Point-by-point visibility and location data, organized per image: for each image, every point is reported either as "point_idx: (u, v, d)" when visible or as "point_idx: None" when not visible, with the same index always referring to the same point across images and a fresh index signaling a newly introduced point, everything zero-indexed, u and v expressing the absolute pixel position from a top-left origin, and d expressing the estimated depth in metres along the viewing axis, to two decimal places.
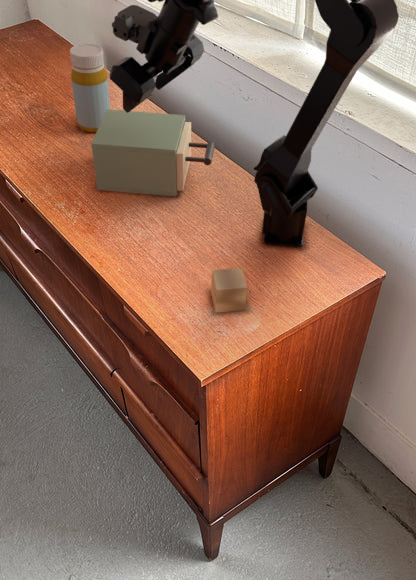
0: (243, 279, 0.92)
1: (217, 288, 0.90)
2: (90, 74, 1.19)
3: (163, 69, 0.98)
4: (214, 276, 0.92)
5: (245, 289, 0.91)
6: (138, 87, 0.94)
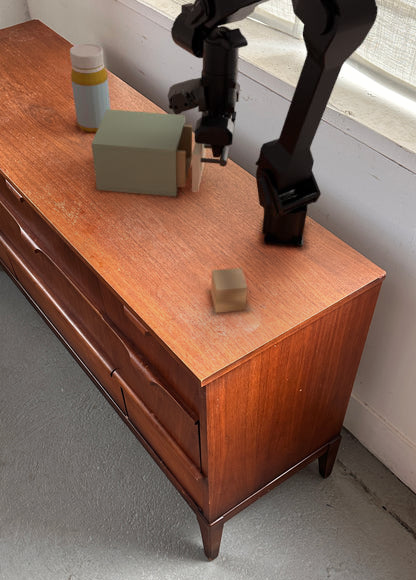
0: (243, 279, 0.92)
1: (217, 288, 0.90)
2: (90, 74, 1.19)
3: (229, 110, 1.04)
4: (214, 276, 0.92)
5: (245, 289, 0.91)
6: (226, 130, 1.00)
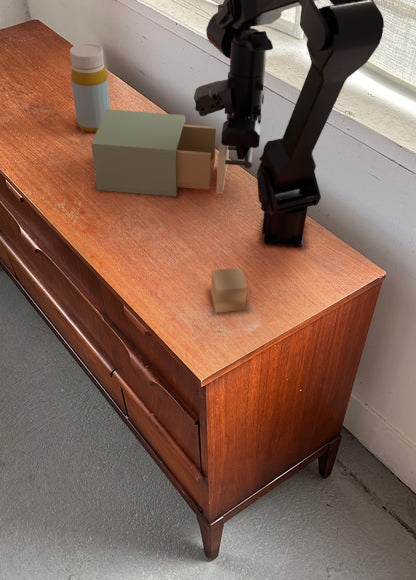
0: (243, 279, 0.92)
1: (217, 288, 0.90)
2: (90, 74, 1.19)
3: (255, 112, 1.04)
4: (214, 276, 0.92)
5: (245, 289, 0.91)
6: (253, 132, 1.00)
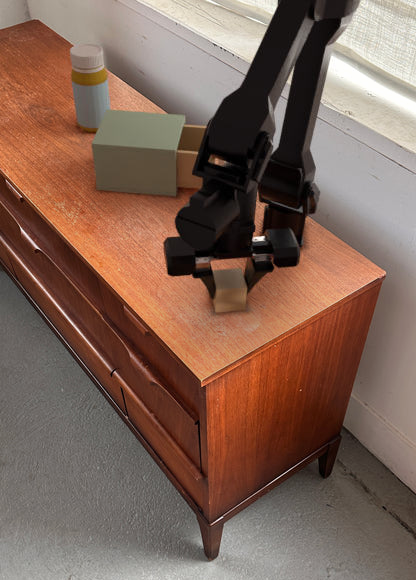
0: (243, 279, 0.92)
1: (217, 288, 0.90)
2: (90, 74, 1.19)
3: (217, 253, 0.85)
4: (214, 276, 0.92)
5: (245, 289, 0.91)
6: (169, 258, 0.85)
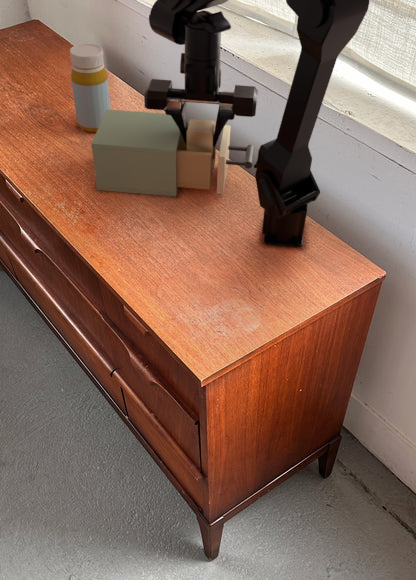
0: (212, 127, 1.09)
1: (187, 130, 1.08)
2: (90, 74, 1.19)
3: None
4: (189, 123, 1.10)
5: (211, 135, 1.08)
6: (146, 91, 1.04)
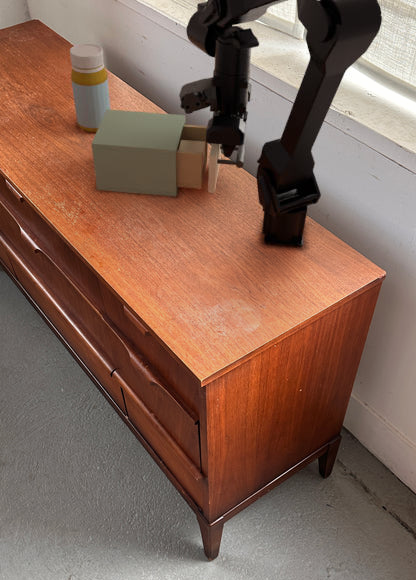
0: (202, 148, 1.12)
1: None
2: (90, 74, 1.19)
3: (241, 110, 1.04)
4: (180, 143, 1.13)
5: None
6: (238, 130, 1.00)
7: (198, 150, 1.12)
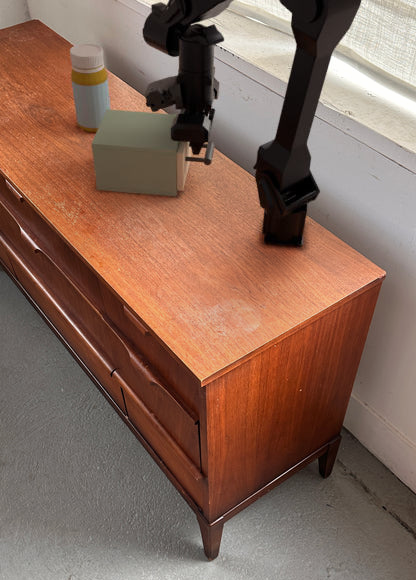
0: None
1: None
2: (90, 74, 1.19)
3: (206, 107, 1.05)
4: None
5: None
6: (201, 127, 1.00)
7: None
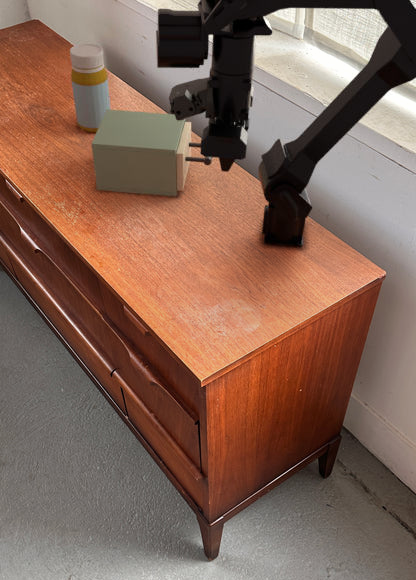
0: None
1: None
2: (90, 74, 1.19)
3: (242, 117, 0.87)
4: None
5: None
6: (239, 141, 0.83)
7: None
